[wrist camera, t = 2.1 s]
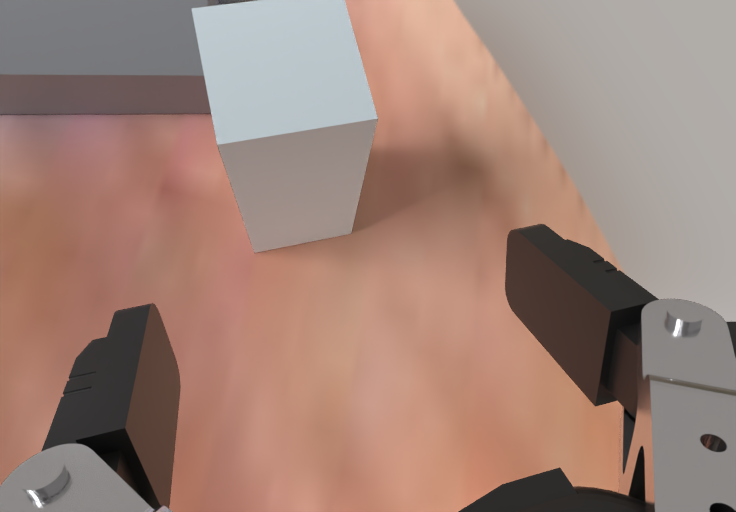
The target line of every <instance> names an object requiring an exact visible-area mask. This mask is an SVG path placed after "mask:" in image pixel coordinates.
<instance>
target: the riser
mask: <svg viewBox="0 0 736 512" xmlns="http://www.w3.org/2000/svg"><path fill="white" fill-rule="evenodd" d="M216 5H219V0H0V114H211V109H210V104H209V99H208V94H207V88H206V83H205V78H204V72H203V67H202V62H201V57H200V51H199V46H198V41H197V35H196V30H195V25H194V20H193V14H192V9H191V8H199V7H207V6H216Z"/></svg>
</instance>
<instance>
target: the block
mask: <svg viewBox="0 0 736 512" xmlns="http://www.w3.org/2000/svg"><path fill="white" fill-rule="evenodd" d="M191 9H192V14H193V20H194V25H195V30H196V35H197V41H198V46H199V51H200V57H201V62H202V67H203V72H204V78H205V83H206V88H207V94H208V99H209V104H210V109H211V115H212V120H213V125H214V131H215V136H216V141H217V146H218V149H219V152H220V154H221V157H222V160H223V163H224V166H225V169H226V172H227V175H228V178H229V181H230V184H231V187H232V190H233V192H234V195H235V198H236V201H237V204H238V207H239V210H240V213H241V216H242V219H243V222H244V225H245V228H246V230H247V233H248V236H249V239H250V242H251V245H252V248H253V251H254V253H257V252H262V251H267V250H272V249H277V248H282V247H287V246H292V245H297V244H302V243H307V242H312V241H317V240H322V239H327V238H332V237H337V236H342V235H347V234H351V233H352V228H353V224H354V220H355V215H356V211H357V207H358V202H359V198H360V194H361V189H362V185H363V181H364V176H365V172H366V168H367V163H368V159H369V155H370V150H371V146H372V142H373V137H374V133H375V129H376V124H377V120H378V117H377V114H376V110H375V106H374V103H373V99H372V96H371V92H370V89H369V85H368V82H367V78H366V75H365V71H364V67H363V64H362V60H361V57H360V53H359V50H358V46H357V43H356V39H355V35H354V32H353V28H352V25H351V21H350V18H349V14H348V11H347V7H346V3H345V0H257V1H249V2H241V3H232V4H224V5H216V6H207V7H199V8H191Z"/></svg>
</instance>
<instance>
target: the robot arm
mask: <svg viewBox="0 0 736 512" xmlns="http://www.w3.org/2000/svg"><path fill="white" fill-rule="evenodd" d="M505 290H506V296H507V300H508V303H509V305H510V307H511V309H512V311H513V312H514V313H515V314H516V316H517V317H518V318H519V319H520V320H521V321H522V323H523V324H524V325H525V326H526V327H527V328H528V329H529V331H530V332H531V333H532V334H533V335H534V336H535V338H536V339H537V340H538V341H539V342H540V343H541V344H542V346H543V347H544V348H545V349H546V350H547V351H548V352H549V354H550V355H551V356H552V357H553V358H554V359H555V361H556V362H557V363H558V364H559V365H560V366H561V367H562V369H563V370H564V371H565V372H566V373H567V374H568V376H569V377H570V378H571V379H572V380H573V381H574V382H575V384H576V385H577V386H578V387H579V388H580V389H581V391H582V392H583V393H584V394H585V395H586V396H587V397H588V399H589V400H590V401H591V402H592V403H593V404H594V406H599V405H602V404H606V403H610V402H613V401H617V400H618V401H619V402H620V403H621V405H622V406H623V407H622V412H621V418H620V452H619V489H618V493H617V492H613V491H610V490H604V489H598V488H591V487H573V486H572V484H571V483H570V482H569V480H568V479H567V477H566V476H565V474H564V473H563V471H562V470H561V468H557V469H553V470H550V471H546V472H543V473H540V474H536V475H533V476H529V477H526V478H523V479H519V480H516V481H512V482H509V483H506V484H502V485H501V486H499V487H498V488H496V489H494V490H493V491H491V492H489V493H488V494H486V495H485V496H483V497H481V498H480V499H478V500H476V501H475V502H473V503H472V504H470V505H468V506H467V507H465V508H463V509H462V510H460V511H459V512H736V322H726V321H725V320H724V319H723V318H722V317H721V316H720V315H719V314H718V313H716V312H715V311H713V310H712V309H710V308H708V307H706V306H703V305H701V304H698V303H695V302H691V301H687V300H681V299H660V300H659V299H657V298H656V297H655V296H653V295H652V294H651V293H649V292H648V291H647V290H645V289H644V288H642V287H641V286H640V285H639V284H637V283H636V282H635V281H633V280H632V279H631V278H629V277H628V276H627V275H625V274H624V273H623V272H621V271H617V268H616V267H614V266H613V265H612V264H610V263H609V262H608V261H604V258H602V257H601V256H600V255H598V254H597V253H596V252H594V251H593V250H592V249H590V248H589V247H586V246H584V245H581V244H578V243H576V242H573V241H571V240H568V239H567V240H564V239H563V238H562V237H560V236H559V235H558V234H556V233H555V232H554V231H552V230H551V229H550V228H549V227H547V226H546V225H544V224H538V225H534V226H529V227H524V228H519V229H514V230H511V231H510V232H509V234H508V238H507V256H506V280H505ZM63 394H64V397H61V400H60V403H59V405H58V408H57V411H56V414H55V416H54V419H53V422H52V424H51V427H50V430H49V432H48V435H47V438H46V441H45V443H44V446H43V449H42V451H41V452H40V453H38V454H36V455H34V456H33V457H31V458H29V459H28V460H26V461H25V462H23V463H22V464H21V465H20V466H18V467H17V468H16V469H15V470H14V471H13V472H12V473H11V474H10V475H9V476H8V477H7V478H6V479H5V481H4V482H3V483H2V485H1V486H0V512H172V511H171V510H170V509H169V505H170V494H171V483H172V473H173V462H174V451H175V440H176V430H177V419H178V408H179V397H180V376H179V370H178V365H177V361H176V358H175V355H174V353H173V350H172V347H171V344H170V341H169V339H168V336H167V333H166V330H165V327H164V324H163V322H162V319H161V316H160V313H159V311H158V309H157V307H156V305H155V304H153V303H152V304H147V305H142V306H137V307H132V308H128V309H123V310H118V311H116V312H115V313H114V316H113V319H112V322H111V325H110V329H109V332H108V335H107V337H105V338H100V339H95V340H92V341H91V343H90V344H89V345H88V346H87V347H86V348H85V349H84V350H83V351H82V352H81V353H80V355H79V356H78V357H77V358H76V360H75V362H74V365H73V368H72V370H71V373H70V376H69V381H67V384H66V387H65V389H64V392H63Z"/></svg>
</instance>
